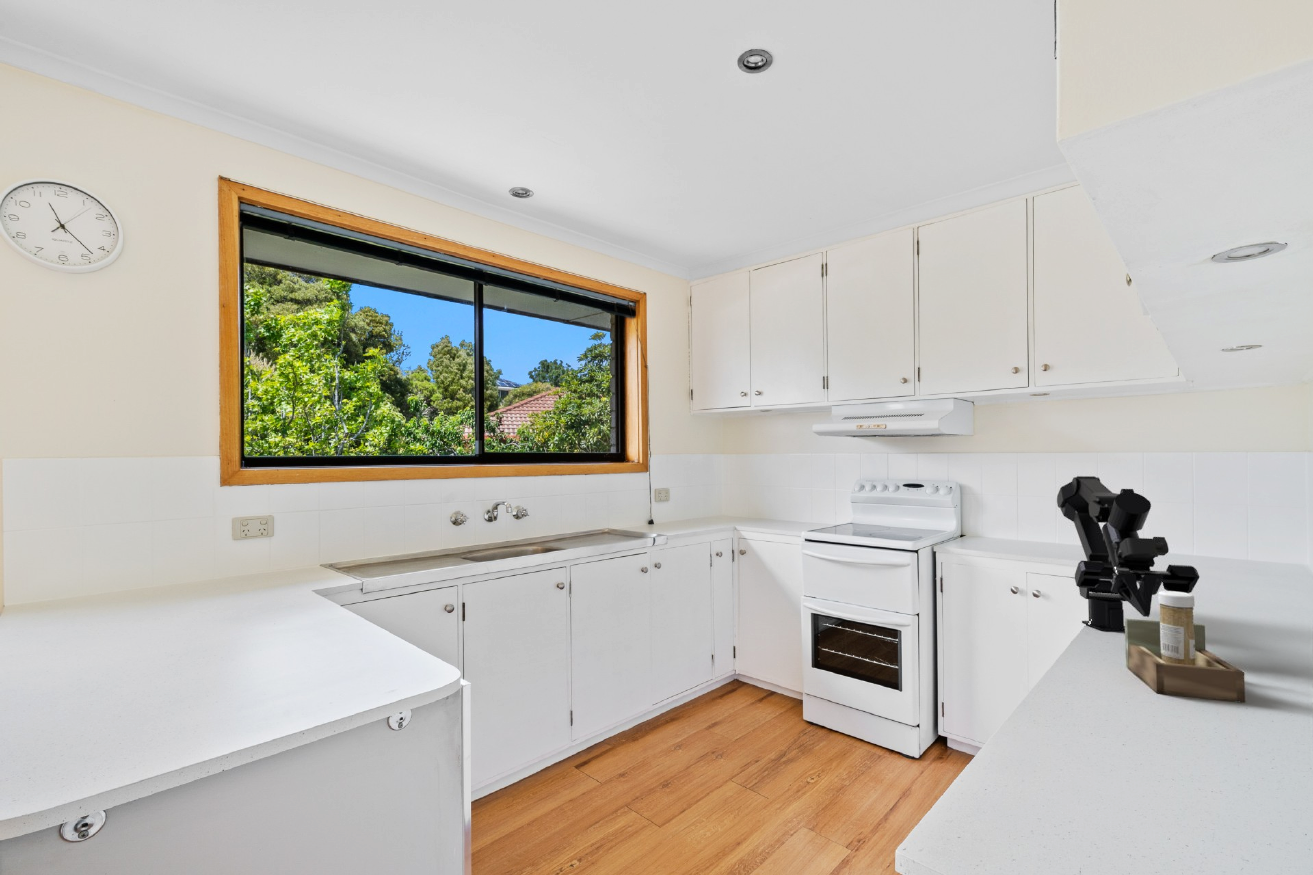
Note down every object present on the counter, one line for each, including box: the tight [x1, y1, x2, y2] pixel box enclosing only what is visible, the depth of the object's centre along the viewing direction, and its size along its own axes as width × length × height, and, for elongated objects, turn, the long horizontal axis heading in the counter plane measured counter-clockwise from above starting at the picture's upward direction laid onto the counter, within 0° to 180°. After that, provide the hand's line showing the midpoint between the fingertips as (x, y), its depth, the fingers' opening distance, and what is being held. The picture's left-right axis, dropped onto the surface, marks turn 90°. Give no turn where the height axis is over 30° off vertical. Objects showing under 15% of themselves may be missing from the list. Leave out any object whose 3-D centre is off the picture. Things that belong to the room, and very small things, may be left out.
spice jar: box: [1157, 590, 1195, 666], centre depth 103 cm, size 5×5×13 cm
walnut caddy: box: [1128, 644, 1246, 703], centre depth 103 cm, size 12×11×4 cm
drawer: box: [1124, 618, 1226, 670], centre depth 104 cm, size 12×11×8 cm
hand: (1146, 615), depth 117 cm, fingers closed
